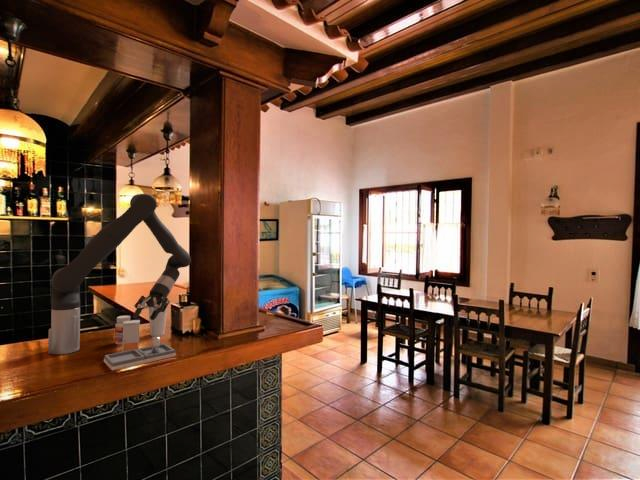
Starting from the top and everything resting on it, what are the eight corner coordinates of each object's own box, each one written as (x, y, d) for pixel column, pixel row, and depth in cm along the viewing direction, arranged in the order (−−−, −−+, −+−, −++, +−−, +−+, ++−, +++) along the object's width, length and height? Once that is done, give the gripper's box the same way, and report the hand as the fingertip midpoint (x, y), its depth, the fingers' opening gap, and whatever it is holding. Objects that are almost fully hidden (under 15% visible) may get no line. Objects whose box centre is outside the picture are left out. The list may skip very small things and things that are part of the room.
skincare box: (121, 353, 137) (122, 323, 137) (122, 350, 140) (123, 320, 140) (139, 351, 139) (139, 321, 139) (139, 348, 143) (139, 319, 143)
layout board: (111, 370, 120) (112, 349, 120) (103, 361, 127) (104, 342, 127) (175, 356, 135) (175, 337, 135) (164, 349, 143) (165, 331, 143)
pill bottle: (113, 345, 146) (114, 319, 145) (115, 341, 151) (116, 315, 151) (130, 344, 148) (130, 318, 148) (131, 340, 154) (132, 314, 154)
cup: (161, 331, 168) (161, 299, 168) (171, 334, 163) (171, 302, 163) (143, 335, 161) (144, 302, 161) (153, 338, 156) (154, 304, 156)
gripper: (145, 281, 156) (124, 312, 145) (172, 283, 152) (152, 314, 141) (153, 291, 161) (134, 321, 150) (179, 293, 158) (161, 324, 147)
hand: (143, 318), depth 146 cm, fingers open, 8 cm apart
